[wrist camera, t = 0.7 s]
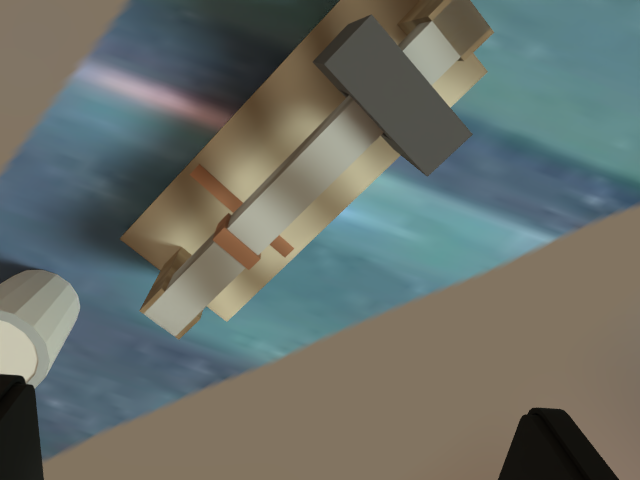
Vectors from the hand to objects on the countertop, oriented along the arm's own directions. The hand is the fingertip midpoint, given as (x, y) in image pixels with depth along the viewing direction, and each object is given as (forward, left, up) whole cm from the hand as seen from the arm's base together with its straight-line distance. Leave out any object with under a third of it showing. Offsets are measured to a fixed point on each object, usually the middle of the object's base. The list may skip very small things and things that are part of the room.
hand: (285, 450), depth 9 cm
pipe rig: (-1, +1, -27) cm, 27 cm away
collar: (-8, +1, -24) cm, 25 cm away
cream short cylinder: (+21, -5, -27) cm, 35 cm away
